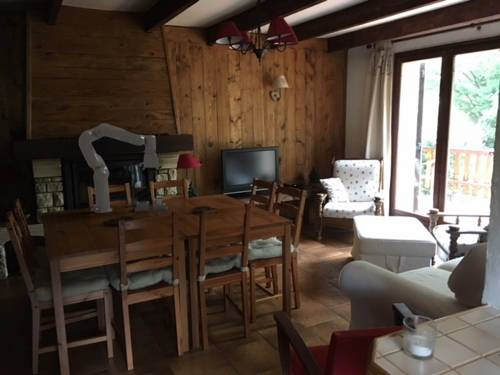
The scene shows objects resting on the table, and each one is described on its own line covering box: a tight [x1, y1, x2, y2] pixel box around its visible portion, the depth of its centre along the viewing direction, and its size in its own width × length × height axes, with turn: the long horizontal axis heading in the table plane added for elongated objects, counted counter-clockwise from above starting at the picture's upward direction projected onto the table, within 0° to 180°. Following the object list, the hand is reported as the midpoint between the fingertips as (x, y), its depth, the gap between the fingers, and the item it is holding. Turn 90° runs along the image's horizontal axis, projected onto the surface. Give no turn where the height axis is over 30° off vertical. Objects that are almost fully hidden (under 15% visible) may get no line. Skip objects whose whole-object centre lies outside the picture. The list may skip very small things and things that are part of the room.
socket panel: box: [134, 201, 169, 213], centre depth 319 cm, size 24×11×6 cm, turn 103°
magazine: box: [134, 185, 153, 206], centre depth 336 cm, size 4×13×15 cm, turn 125°
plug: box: [155, 195, 163, 205], centre depth 320 cm, size 4×4×9 cm
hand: (151, 175), depth 319 cm, fingers open, 9 cm apart
